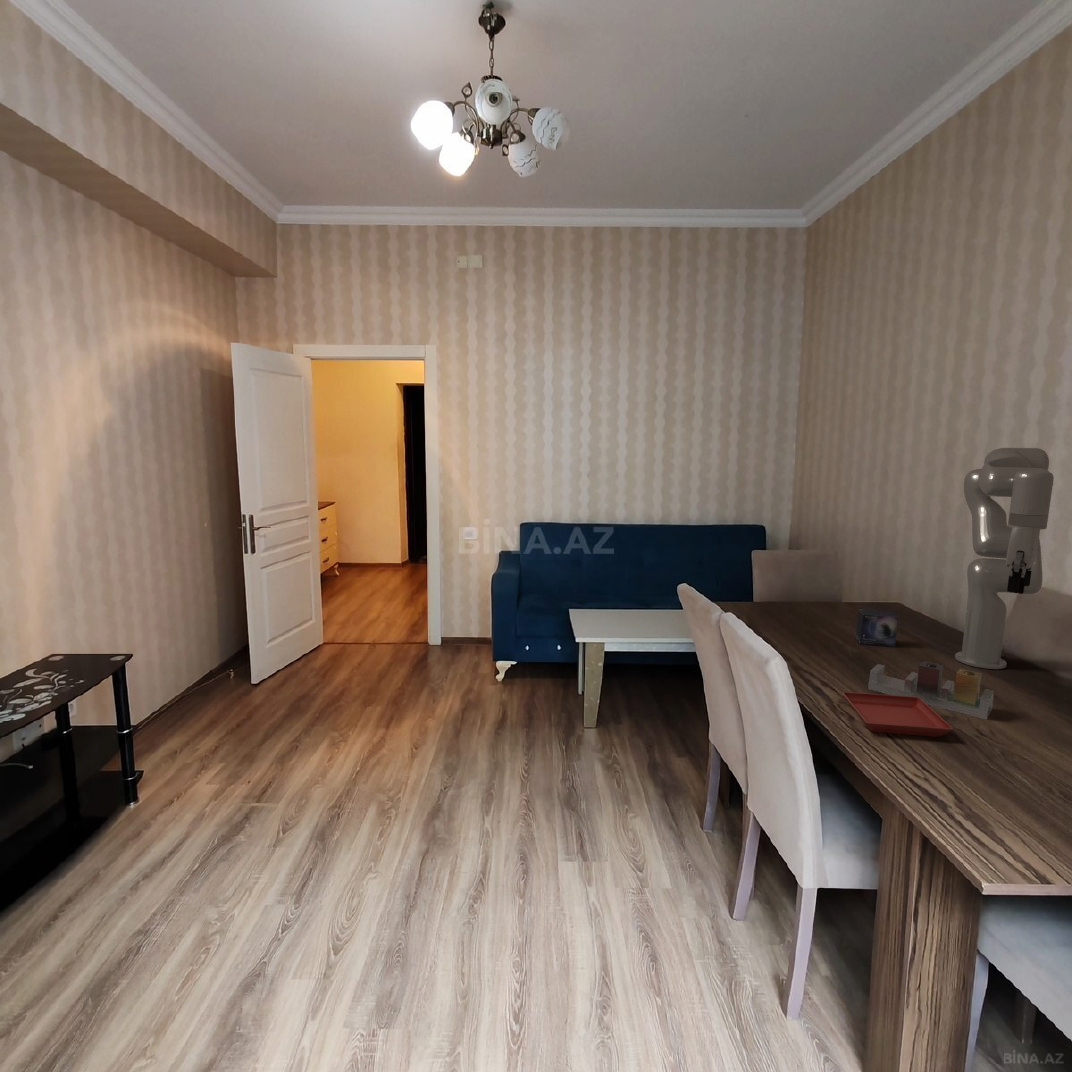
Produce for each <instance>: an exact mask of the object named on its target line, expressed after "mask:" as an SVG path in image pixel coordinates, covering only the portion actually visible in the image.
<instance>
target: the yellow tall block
mask: <svg viewBox="0 0 1072 1072" xmlns="http://www.w3.org/2000/svg"><path fill="white" fill-rule="evenodd" d="M982 674H983V673H982V672H979V671H978V672H977V671H974V670H973V671H972V670H968V669H965V668H959V669H958V670H957V671H956V673H955V680H954V690H953V692H954V697H953V700H955V701H959V702H963V703H967V704H971V705H976V703H977V702H978V700H979V698H980V691H981V682H982Z"/></svg>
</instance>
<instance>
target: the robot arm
mask: <svg viewBox="0 0 1072 1072" xmlns="http://www.w3.org/2000/svg"><path fill="white" fill-rule="evenodd" d="M983 464H984V465H982V467H981V468H977V469H973V470H971V471H969V472H967V473H966V475H965V477H964V480H963V493H964V498H965V501H966V505H967V506H968V509H969V511H970V514H971V524H972V525H971V528H972V529H971V530H972V531H971V532H972V548H973V552H974V553H975V554H976V555H978V556H979V557H983V558H977V559H974V560H972V561H971V562H970V563H969V564H968V567H967V570H966V572H967V573H966V576H967V590H968V592H967V603H966V614H965V621H964V628H963V639H962V647H961V651H958V652H956V653H955V655H954V658H955V660H957V661H958V662H960V663H962V664H964V665H967V666H970V667H976V668H979V669H980V668H981V669H985V670H1002V669H1005V668H1007V661H1006V660H1005V659H1004V658H1001V657H1002V649H1003V642H1004V635H1005V634H1004V633H1005V625H1006V617H1007V613H1008V609H1007V608H1008V607H1007V605H1006V603H1005V601H1004V600H1003V599H1002V598H1001V597H1000V596H999V594H998V593H1010V594H1020V595H1034V594H1037V593H1039V591H1040V590H1041V589H1042V586H1043V579H1044V578H1043V564H1042V563H1043V562H1042V551H1041V550H1042V547H1041V539H1040V533H1041V530H1046V529H1047V528H1048V521H1049V516H1050V515H1049V514H1050V507H1051V500H1052V493H1053V486H1054V474H1053V473H1052V472H1050V471H1049V467H1050V458H1049V454H1048V453H1047V452H1046V451H1045V450H1044V449H1042V448H1038V447H1000V448H995V449H994V450H992V451H990V452H988V454H986V456H985V458H984V460H983ZM992 497H999V498H1000V497H1003V498H1011V499H1010V507H1009V514H1008V515H1007V513H1006V510H1004V508H1003V507H1002V506H1001V504H999V503H998V502H997V501H996V500H994V499H993V498H992ZM1007 516H1008V519H1007Z"/></svg>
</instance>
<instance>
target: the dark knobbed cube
mask: <svg viewBox="0 0 1072 1072" xmlns="http://www.w3.org/2000/svg"><path fill="white" fill-rule="evenodd" d="M943 673H944V664H938V663H934V662H929V661H926V660H925V661H924V660H923V661H922V662H921V663H920V664H919V665H918V680H917V689H916V692H920V693H924V694H928V695H932V696H938V694H939V693H940V692H941V688H942V683H943Z"/></svg>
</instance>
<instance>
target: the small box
mask: <svg viewBox="0 0 1072 1072" xmlns="http://www.w3.org/2000/svg"><path fill="white" fill-rule="evenodd" d="M856 621H857V622H856V628H855V629H856V631H855V637H854V639H855V640H856V641H857V642H858V644H859V645H861V646H863V645H864V646H871V647H872V646H874V647H883V648H885V647H886V648H895V647H896V639H897V632H898V631H897V630H898V621H899V616H898V615H897V614H896V613H894V611H891V610H890V611H889V610H888V611H887V610H874V609H873V610H872V609H860V608H859V609H858V611H857V619H856Z"/></svg>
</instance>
